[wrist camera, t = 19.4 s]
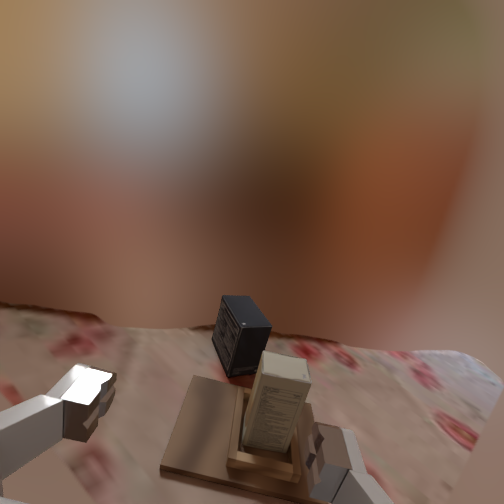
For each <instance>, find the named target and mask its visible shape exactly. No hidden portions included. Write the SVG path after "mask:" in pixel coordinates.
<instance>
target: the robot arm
mask: <svg viewBox="0 0 504 504" xmlns="http://www.w3.org/2000/svg"><path fill="white" fill-rule="evenodd" d="M116 376H117V374H116V373H115V372H111V371H107V370H104V369H100V368H96V367H93V366H88V365H85V364H81V363H78V364H76V365H74V366H73V367H72V368H71V369H70V370H69V371H68V372H67V373H66V374H65V375H64V376H63V377H62V378H61V379H60V381H59V382H58V383H57V384H56V385H55V386H54V387H53V388H52V389H51V390H50V391H49V392H48V393H47V394H46V395H38V396H36V397H34V398H32V399H29V400H27V401H25V402H22V403H20V404H18V405H15V406H13V407H11V408H9V409H6V410H4V411H2V412H0V504H28V503H24V502H20V501H16V500H12V499H7V498H3V487H2V480H3V479H5V478H6V477H8V476H9V475H11V474H12V473H14V472H15V471H17V470H18V469H19V468H21V467H22V466H24V465H25V464H27V463H28V462H30V461H31V460H33V459H34V458H36V457H37V456H39V455H40V454H42V453H43V452H45V451H46V450H47V449H49V448H50V447H52V446H53V445H55V444H56V443H58V442H59V441H61V440H62V438H66V439H71V440H75V441H80V442H85V443H86V442H87V441H88V439H89V438H90V436H91V435H92V433H93V432H94V430H95V429H96V427H97V426H98V419H99V418H100V417H102V416H104V415H105V414H106V412H107V411H108V409H109V408H110V405H111V403H112V401H113V398H114V395H115V388H114V386H113V384H114V383H115V381H116ZM311 429H312V434H311V435H309V436H308V438H307V440H306V443H305V450H304V457H305V464H306V466H307V467H308V469H309V473H308V475H307V483H308V492H309V497H311V498H315V499H318V500H322V501H325V502H329V503H332V504H394V503H393V501H392V500H391V499H390V498H389V497H388V495H387V494H386V493H385V492H384V490H383V489H382V488H381V487H380V485H379V484H378V483H377V482H376V480H375V479H374V478H373V477H372V475H369V474H367V471H366V468H365V465H364V462H363V459H362V456H361V452H360V449H359V446H358V443H357V440H356V437H355V434H354V432H353V431H352V430H349V429H345V428H339V427H337V426H332V425H328V424H324V423H319V422H315V423H313V426H312V428H311Z"/></svg>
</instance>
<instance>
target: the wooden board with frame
mask: <svg viewBox="0 0 504 504" xmlns="http://www.w3.org/2000/svg"><path fill="white" fill-rule="evenodd" d="M251 391H252V389H249V388H245V387H241V386H236V385H232V384H228V383H224V382H220V381H216V380H212V379H208V378H204V377H200V376H196V375H193V378H192V380H191V383H190V386H189V388H188V391H187V394H186V397H185V399H184V402H183V405H182V407H181V410H180V413H179V415H178V418H177V421H176V424H175V426H174V429H173V432H172V434H171V437H170V440H169V443H168V445H167V448H166V451H165V453H164V456H163V459H162V462H161V464H160V469H161V470H165V471H169V472H174V473H178V474H182V475H186V476H190V477H194V478H198V479H202V480H207V481H211V482H215V483H219V484H223V485H227V486H231V487H235V488H240V489H244V490H248V491H252V492H256V493H260V494H264V495H268V496H273V497H277V498H281V499H285V500H289V501H293V502H297V503H301V504H328V502H325V501H322V500H318V499H315V498H311V497H309V492H308V483H307V475H308V473H309V469H308V467H307V466H306V464H305V457H304V450H305V443H306V440H307V438H308V436H309V435H311V434H312V429H311V428H312V426H313V423H314V419H313V413H312V407H311V404H309V403H304V405H303V408H302V411H301V414H300V417H299V419H298V422H297V425H296V428H295V430H294V433H293V436H292V439H291V441H290V444H289V447H288V450H287V452H286V453H282V452H276V451H270V450H265V449H259V448H254V447H250V446H245V445H243V444H242V434H243V423H244V416H245V412H246V409H247V405H248V402H249V398H250V395H251Z"/></svg>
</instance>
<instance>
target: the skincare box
mask: <svg viewBox="0 0 504 504" xmlns="http://www.w3.org/2000/svg"><path fill="white" fill-rule="evenodd" d="M311 384H312V382H311V377H310V373H309V368H308V364H307V360H306V359H302V358H298V357H293V356H289V355H284V354H279V353H274V352H268V351H263V352H262V355H261V359H260V363H259V366H258V370H257V373H256V377H255V380H254V384H253V387H252V391H251V395H250V398H249V402H248V405H247V409H246V412H245V416H244V423H243V434H242V444H243V445H245V446H250V447H254V448H259V449H265V450H270V451H276V452H282V453H286V452H287V450H288V447H289V444H290V441H291V439H292V436H293V433H294V430H295V428H296V425H297V422H298V419H299V417H300V414H301V411H302V408H303V405H304V403H305V400H306V397H307V395H308V392H309V389H310V386H311Z"/></svg>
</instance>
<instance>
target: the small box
mask: <svg viewBox="0 0 504 504" xmlns="http://www.w3.org/2000/svg"><path fill="white" fill-rule="evenodd" d="M271 328H272V325H271V324H270V322H269V321H268V320H267V319H266V317H265V316H264V315H263V313H262V312H261V311H260V309H259V308H258V307H257V305H256V304H255V303H254V302H253V300H252V299H251V298H250V296H230V295H223V296H222V299H221V305H220V309H219V313H218V317H217V321H216V325H215V329H214V333H213V337H212V341H213V344H214V346H215V348H216V351H217V353H218V356H219V358H220V360H221V363H222V365H223V368H224V370H225V372H226V375H227V377H233V376H239V375H247V374H254V373H257V370H258V366H259V363H260V359H261V355H262V352H263V351H264V350H265V347H266V344H267V341H268V338H269V335H270V331H271Z"/></svg>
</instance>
